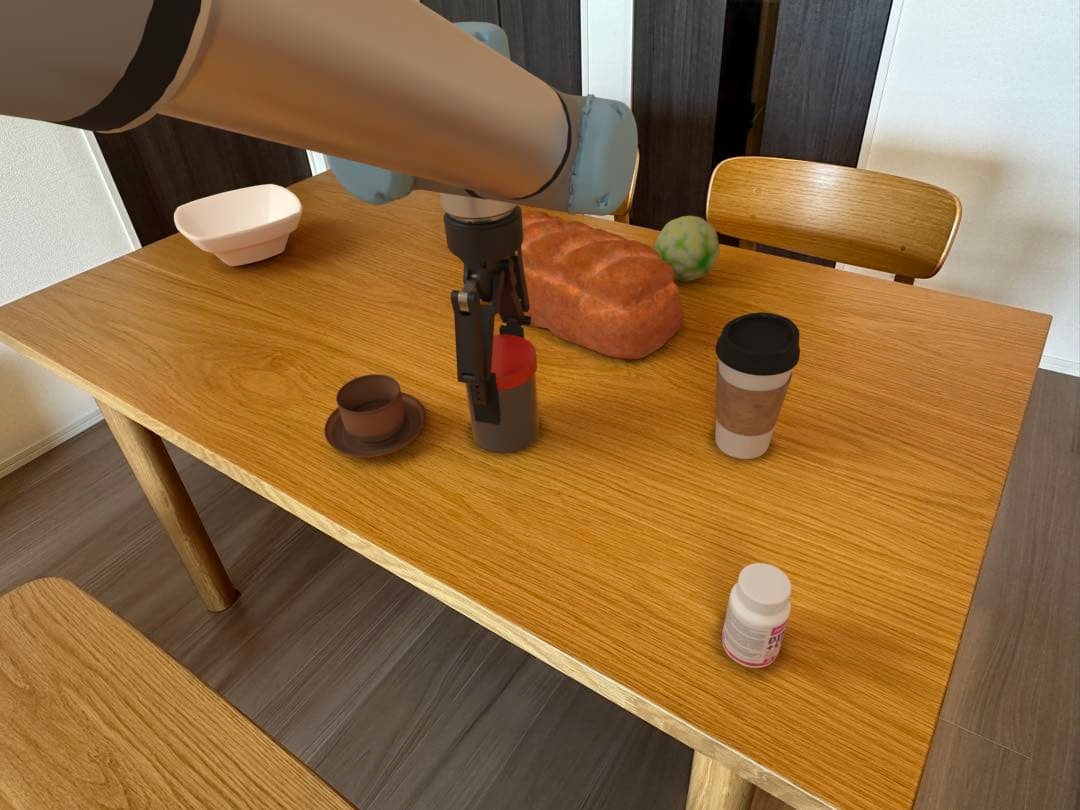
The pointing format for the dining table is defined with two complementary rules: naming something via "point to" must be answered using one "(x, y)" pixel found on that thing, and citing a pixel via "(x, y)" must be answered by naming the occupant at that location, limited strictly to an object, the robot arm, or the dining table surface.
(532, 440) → the jar
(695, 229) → the decorative ball
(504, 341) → the jar lid
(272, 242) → the bowl
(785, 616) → the pill bottle
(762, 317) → the coffee cup
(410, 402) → the cup and saucer
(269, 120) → the robot arm
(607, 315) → the bread
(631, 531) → the dining table surface
